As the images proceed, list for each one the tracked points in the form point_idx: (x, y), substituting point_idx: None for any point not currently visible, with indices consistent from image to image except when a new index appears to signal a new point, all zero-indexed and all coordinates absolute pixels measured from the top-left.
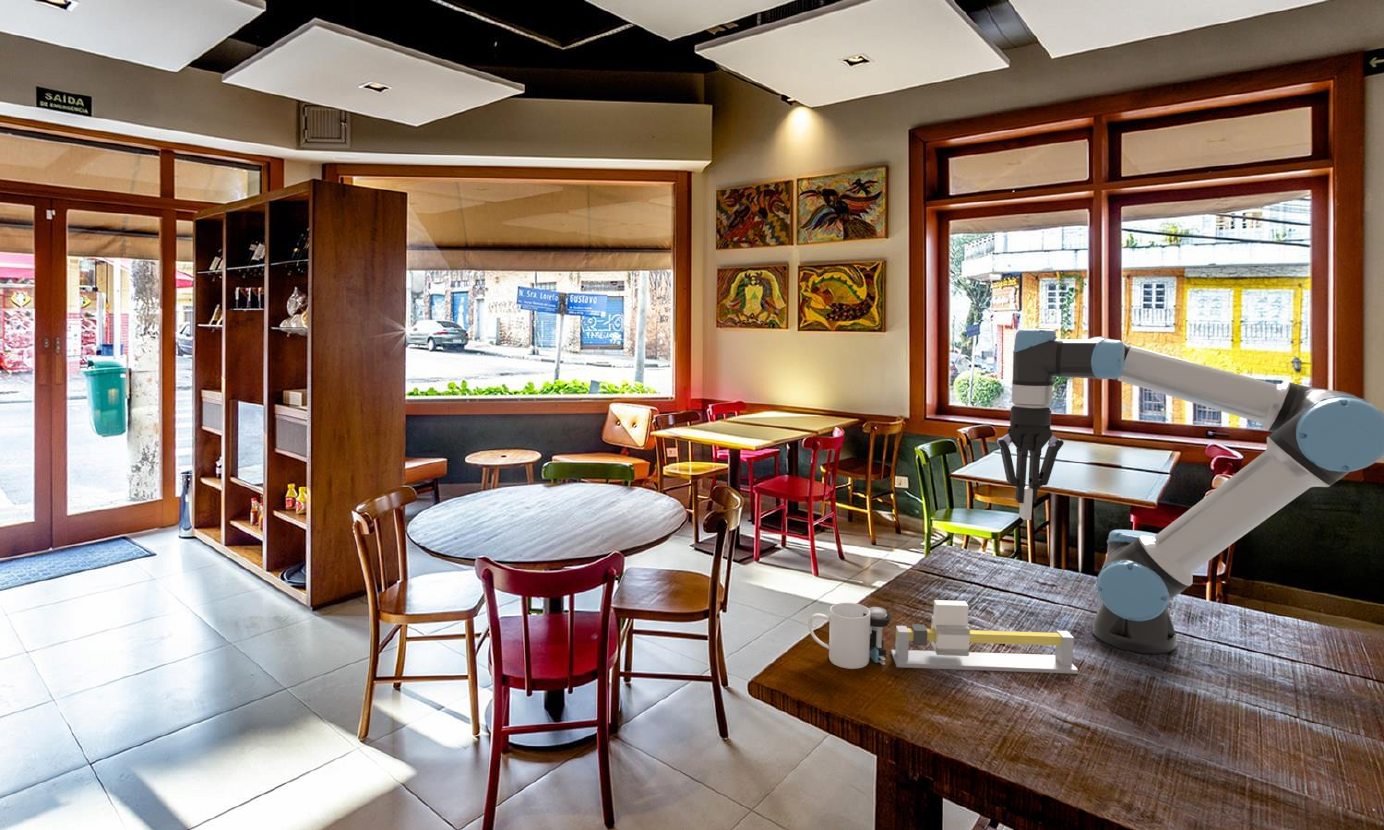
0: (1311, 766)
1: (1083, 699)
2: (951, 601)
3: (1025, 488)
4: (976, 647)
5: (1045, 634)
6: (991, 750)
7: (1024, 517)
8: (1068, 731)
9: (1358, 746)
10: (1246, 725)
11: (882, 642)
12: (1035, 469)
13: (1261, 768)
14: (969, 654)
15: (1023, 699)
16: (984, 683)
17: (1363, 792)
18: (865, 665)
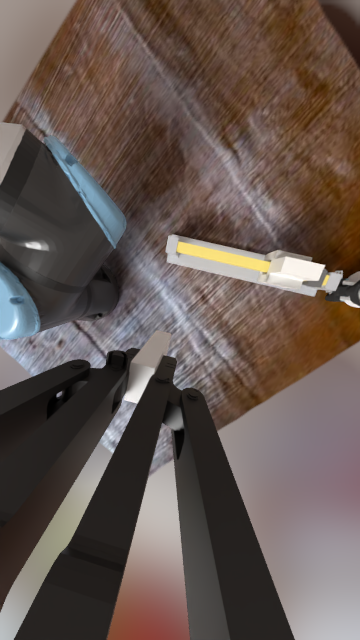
0: (87, 57)
1: (195, 189)
2: (298, 273)
3: (150, 374)
4: (228, 295)
5: (190, 249)
6: (332, 104)
7: (169, 335)
8: (243, 133)
9: (33, 87)
10: (94, 130)
11: (340, 286)
12: (78, 415)
13: (127, 56)
14: (248, 275)
15: (246, 195)
16: (262, 228)
17: (75, 12)
18: (352, 274)
